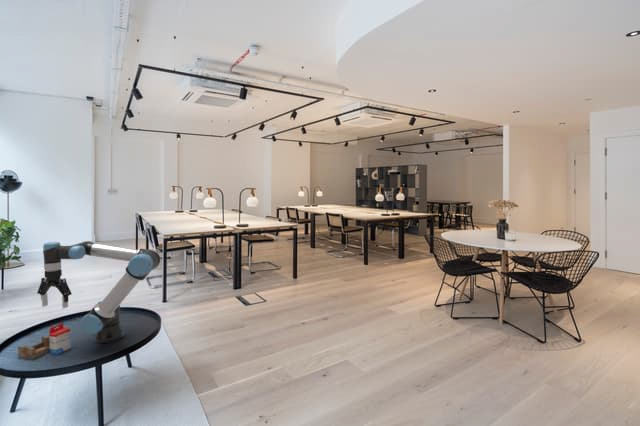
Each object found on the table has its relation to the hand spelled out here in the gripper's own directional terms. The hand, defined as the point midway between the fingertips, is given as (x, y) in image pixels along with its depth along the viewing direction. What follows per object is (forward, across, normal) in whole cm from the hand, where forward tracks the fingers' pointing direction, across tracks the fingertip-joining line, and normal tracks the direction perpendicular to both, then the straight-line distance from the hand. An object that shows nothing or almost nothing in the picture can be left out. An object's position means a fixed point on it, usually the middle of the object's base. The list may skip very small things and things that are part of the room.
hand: (55, 306), depth 190 cm
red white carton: (+25, -4, +1) cm, 25 cm away
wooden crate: (+25, +6, +6) cm, 26 cm away
